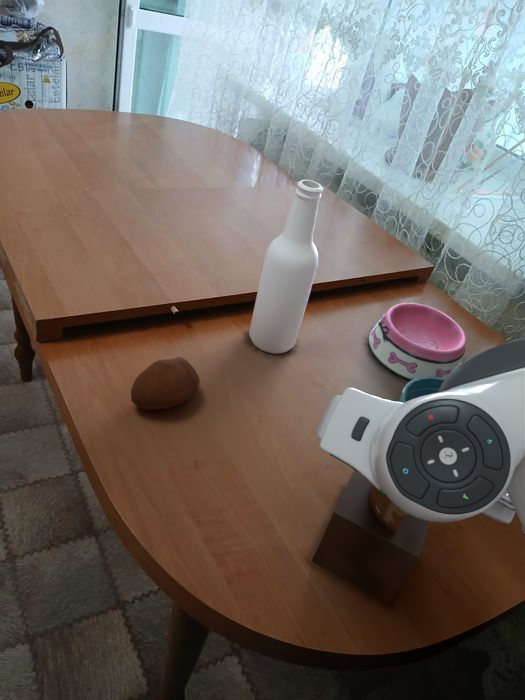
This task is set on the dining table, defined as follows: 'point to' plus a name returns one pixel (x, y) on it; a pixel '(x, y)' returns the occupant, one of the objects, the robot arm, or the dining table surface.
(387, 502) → the food container
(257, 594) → the dining table surface
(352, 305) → the dining table surface
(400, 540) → the stand
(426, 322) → the dog bowl
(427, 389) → the teal bowl
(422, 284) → the dining table surface
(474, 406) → the robot arm
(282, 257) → the alcohol
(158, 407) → the potato
